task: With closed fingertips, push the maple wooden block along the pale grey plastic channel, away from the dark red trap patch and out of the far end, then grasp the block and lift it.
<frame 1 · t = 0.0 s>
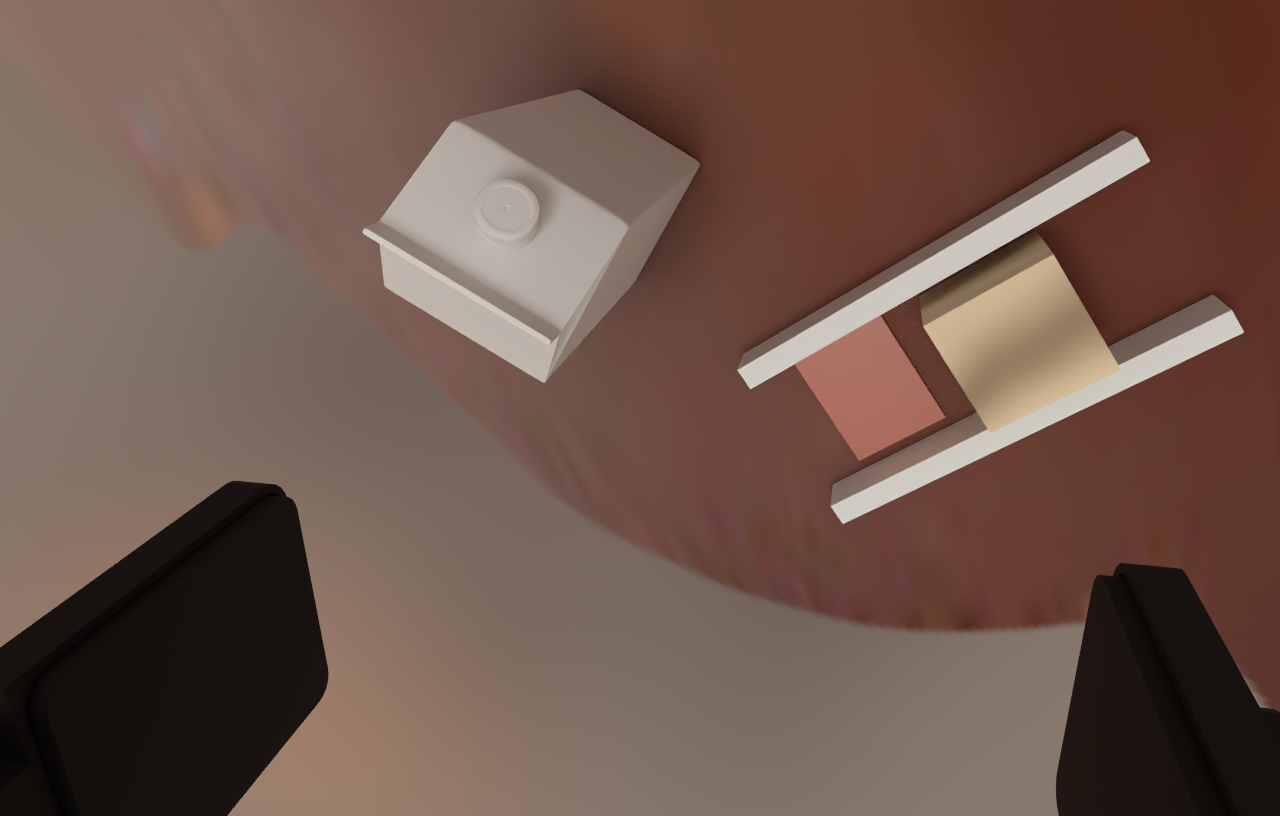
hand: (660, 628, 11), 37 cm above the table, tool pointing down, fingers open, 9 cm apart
channel: (968, 335, 46), on the table
milk carton: (609, 187, 47), on the table
maple block: (1006, 314, 45), on the table
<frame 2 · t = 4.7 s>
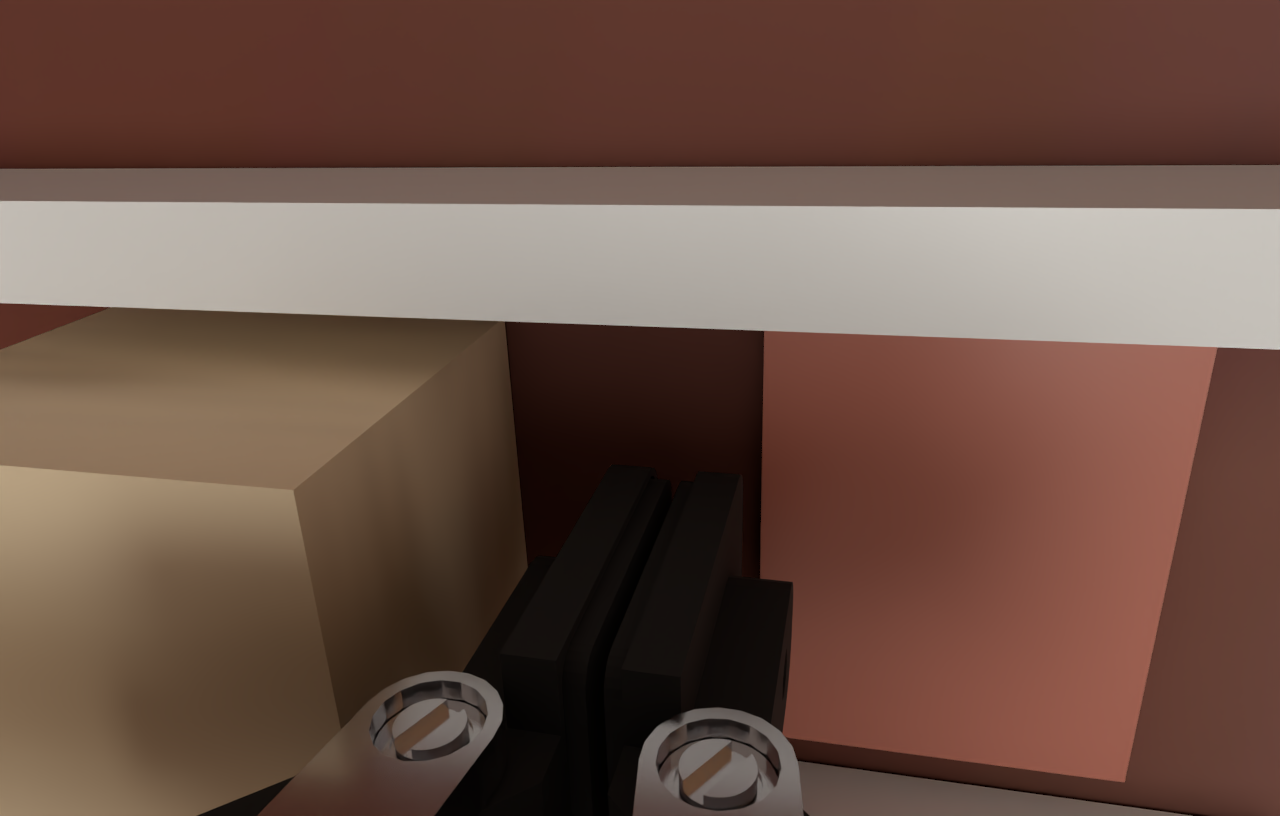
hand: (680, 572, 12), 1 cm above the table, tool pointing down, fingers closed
channel: (553, 521, 13), on the table
maple block: (337, 499, 14), on the table
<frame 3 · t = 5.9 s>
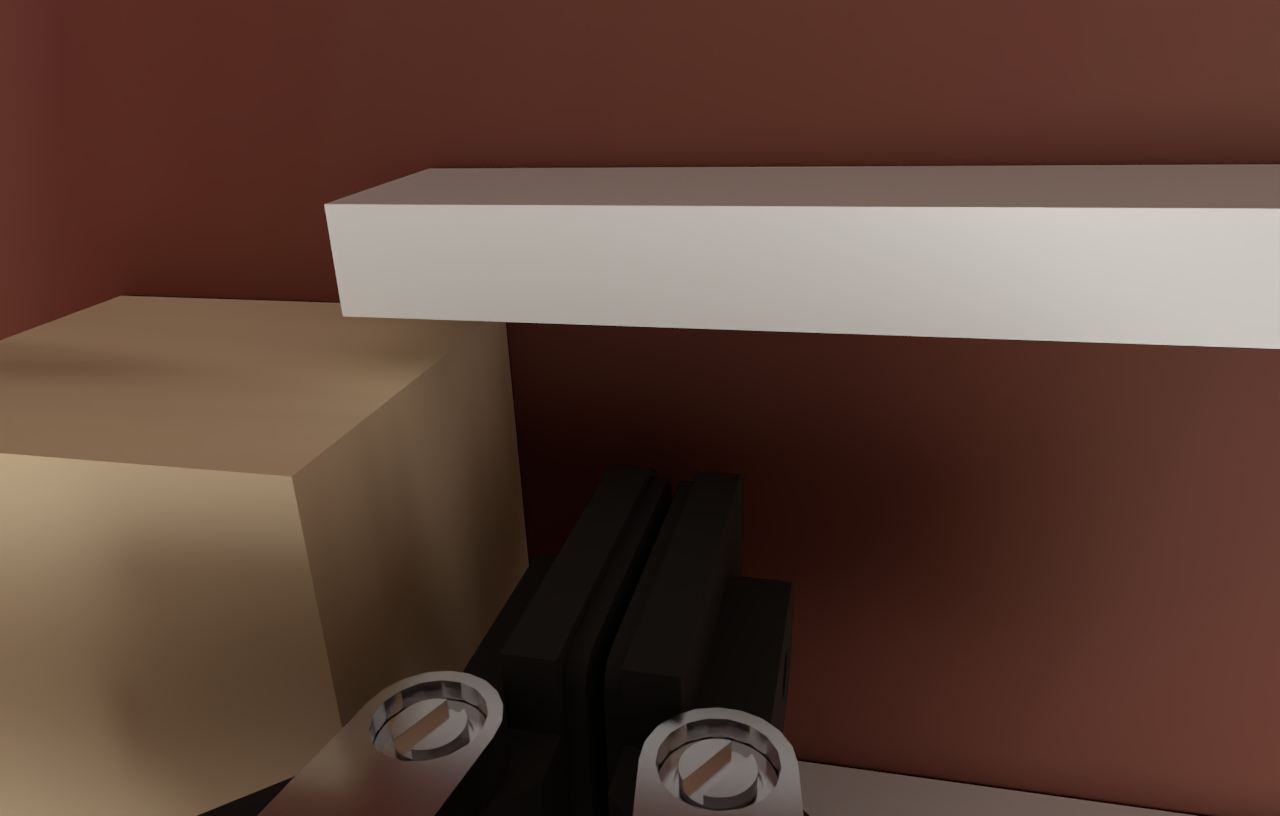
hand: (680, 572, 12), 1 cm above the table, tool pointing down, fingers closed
channel: (1226, 578, 11), on the table
maple block: (337, 492, 14), on the table, touching gripper
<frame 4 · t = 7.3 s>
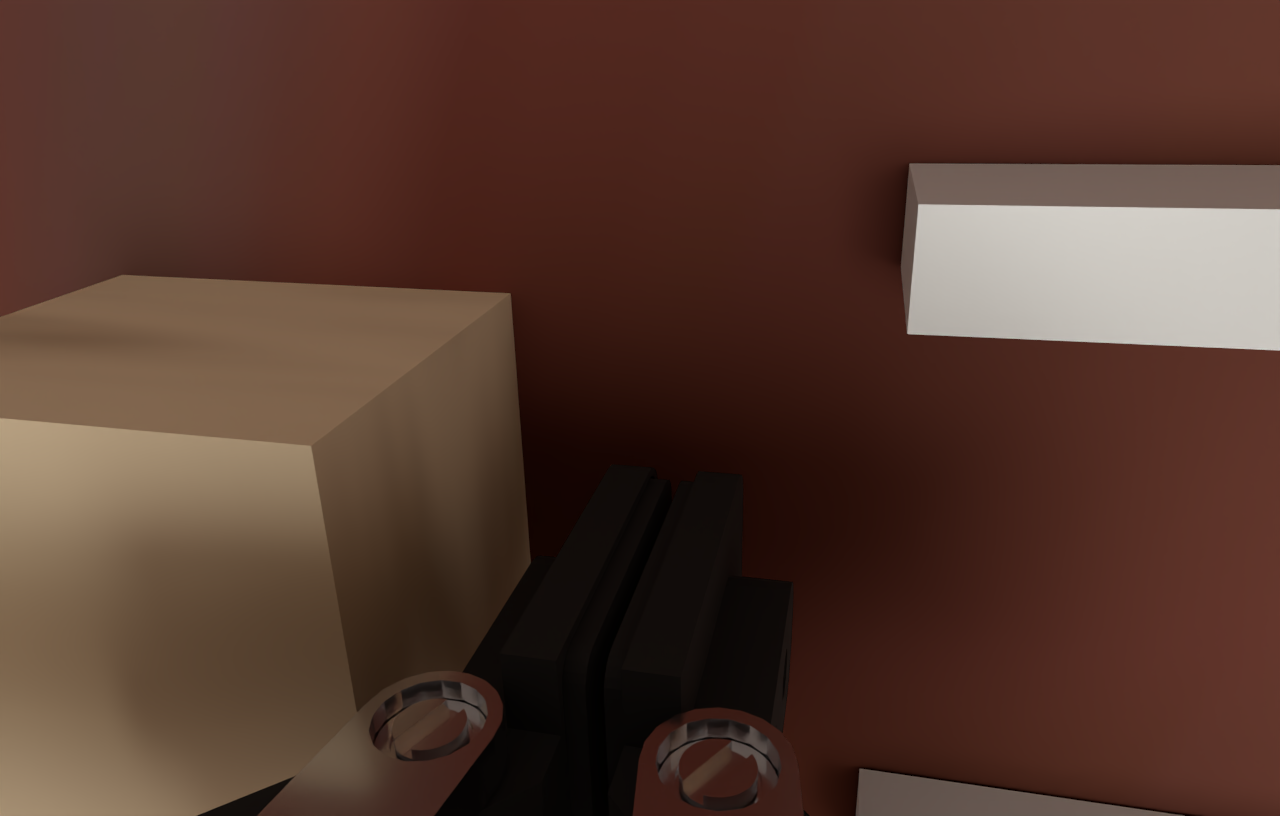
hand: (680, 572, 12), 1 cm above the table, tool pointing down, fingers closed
maple block: (343, 471, 14), on the table
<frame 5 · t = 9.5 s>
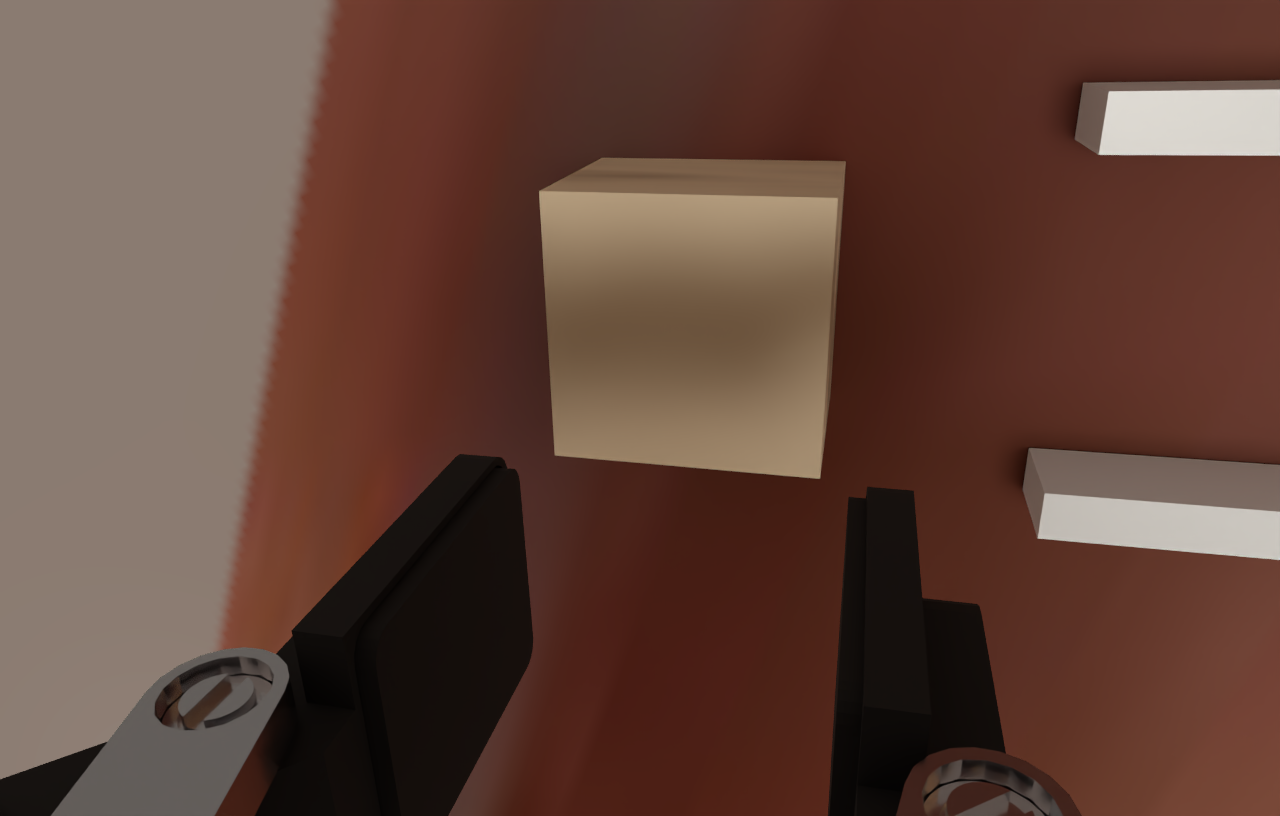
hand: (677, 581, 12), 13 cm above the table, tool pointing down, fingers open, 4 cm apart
maple block: (719, 277, 24), on the table
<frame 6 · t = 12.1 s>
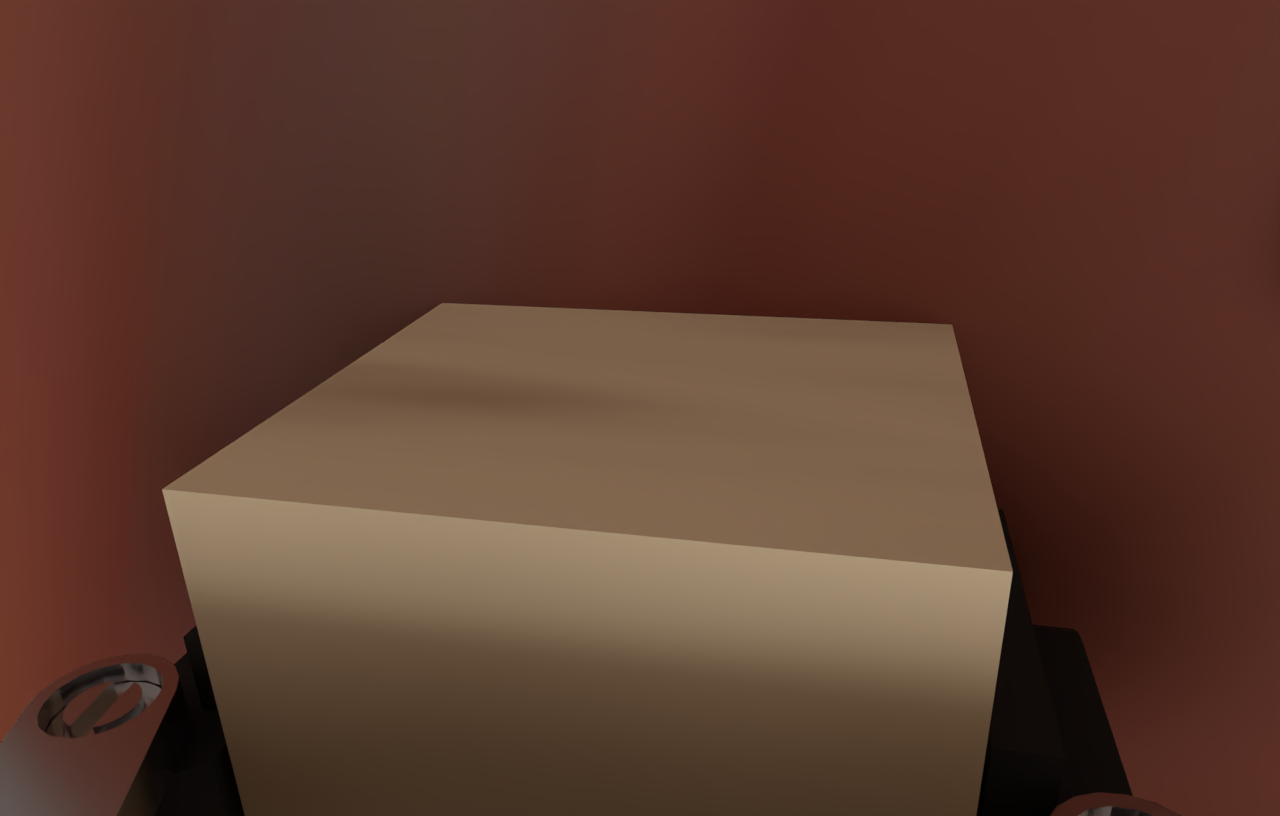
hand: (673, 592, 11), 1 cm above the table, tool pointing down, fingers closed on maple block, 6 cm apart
maple block: (683, 537, 12), on the table, touching gripper
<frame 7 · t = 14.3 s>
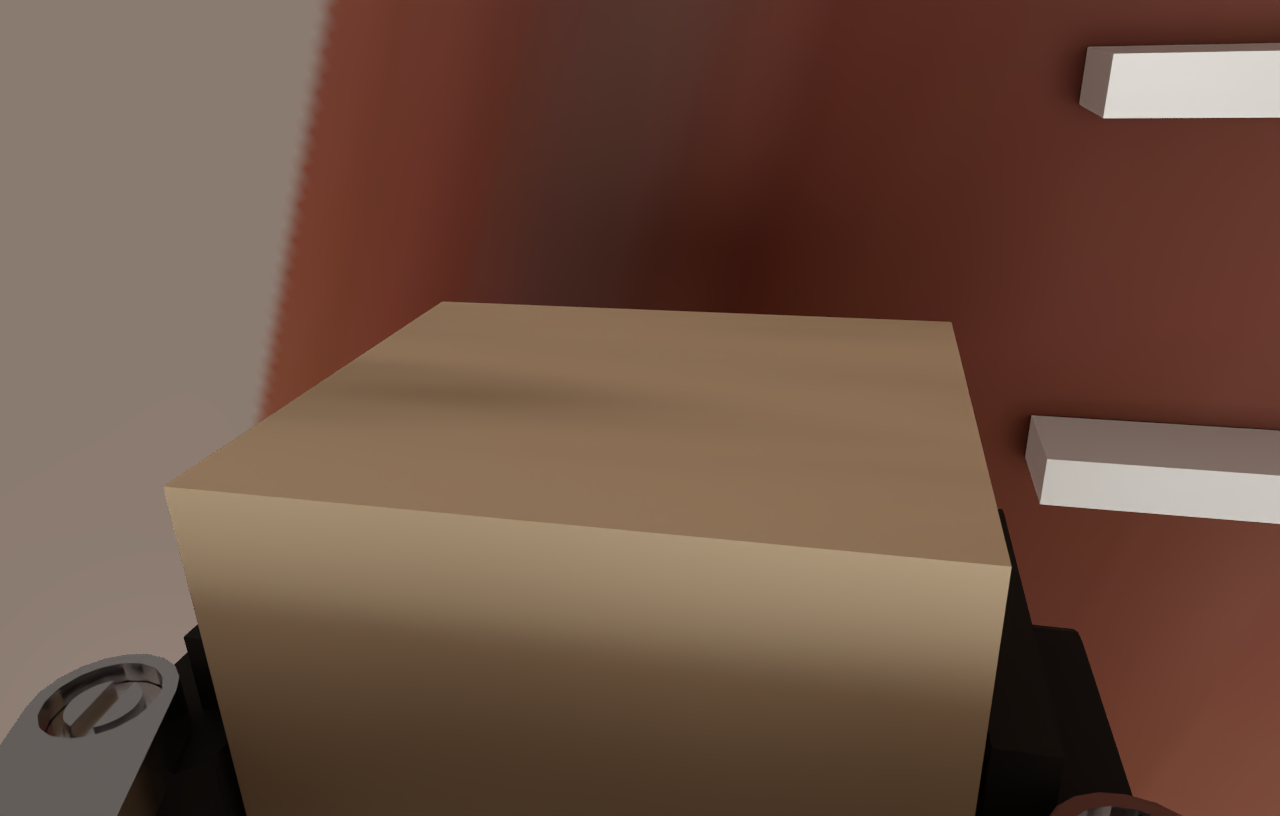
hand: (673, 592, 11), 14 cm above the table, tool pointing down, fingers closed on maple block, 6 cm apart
maple block: (683, 535, 12), point 13 cm above the table, touching gripper
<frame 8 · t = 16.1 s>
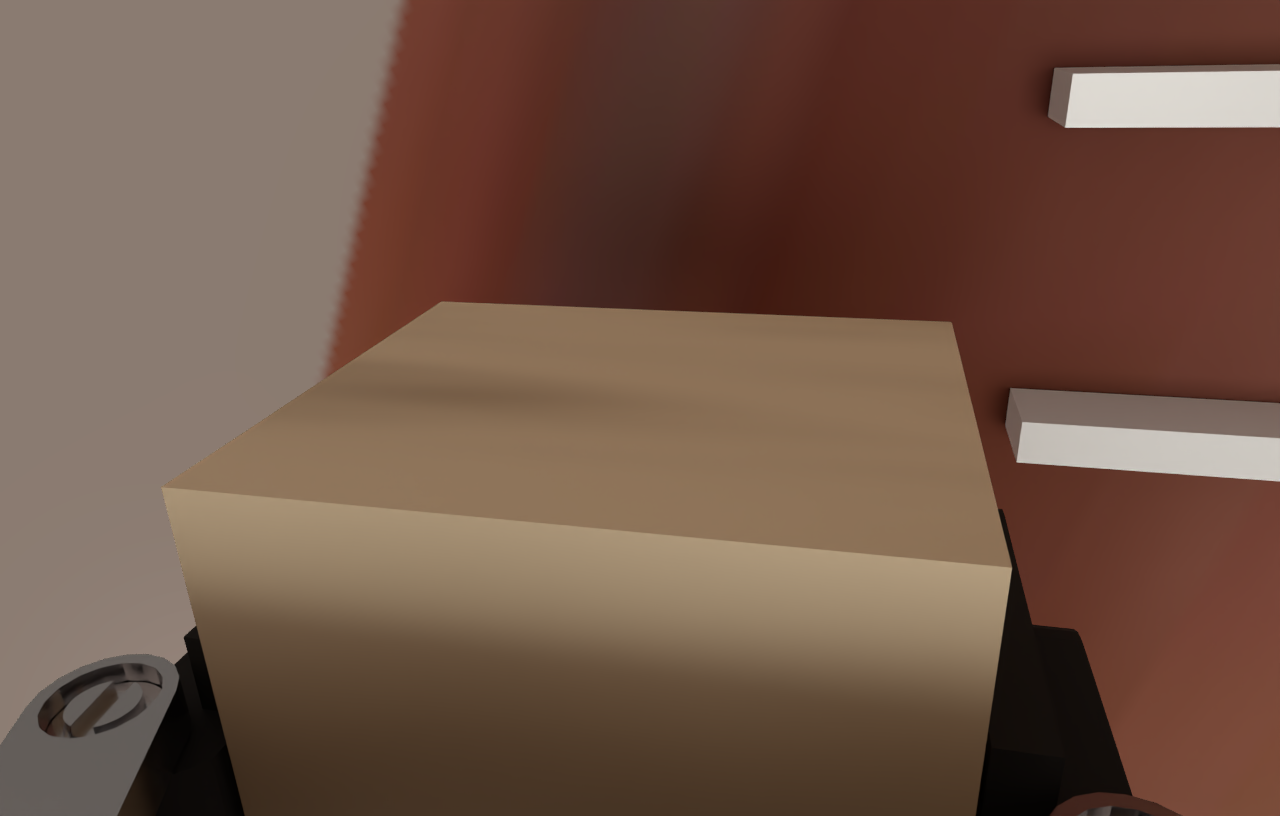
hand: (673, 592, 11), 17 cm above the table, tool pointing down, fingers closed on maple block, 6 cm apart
maple block: (683, 535, 12), point 17 cm above the table, touching gripper
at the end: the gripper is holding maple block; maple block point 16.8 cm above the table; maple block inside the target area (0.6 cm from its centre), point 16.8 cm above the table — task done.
